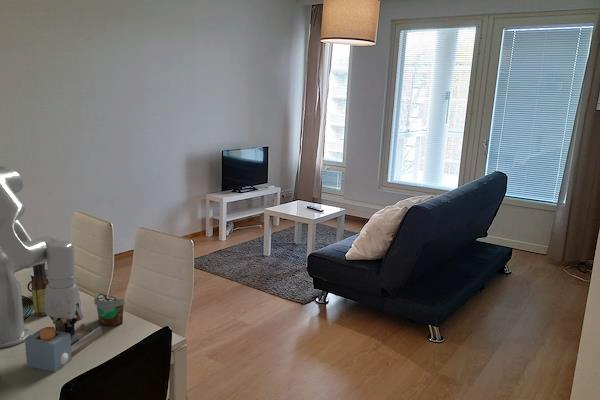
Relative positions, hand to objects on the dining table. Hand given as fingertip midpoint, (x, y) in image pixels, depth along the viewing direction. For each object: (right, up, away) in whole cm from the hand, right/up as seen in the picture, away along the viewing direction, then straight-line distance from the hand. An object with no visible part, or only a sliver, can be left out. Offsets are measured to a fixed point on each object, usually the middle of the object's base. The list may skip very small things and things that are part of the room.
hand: (65, 335), depth 153 cm
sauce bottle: (-21, +1, +26) cm, 33 cm away
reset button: (-2, -1, -7) cm, 7 cm away
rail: (+1, -5, +5) cm, 7 cm away
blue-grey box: (-2, -7, -6) cm, 9 cm away
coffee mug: (-29, +4, +39) cm, 49 cm away
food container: (+5, -2, +21) cm, 21 cm away
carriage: (0, -4, +1) cm, 4 cm away
